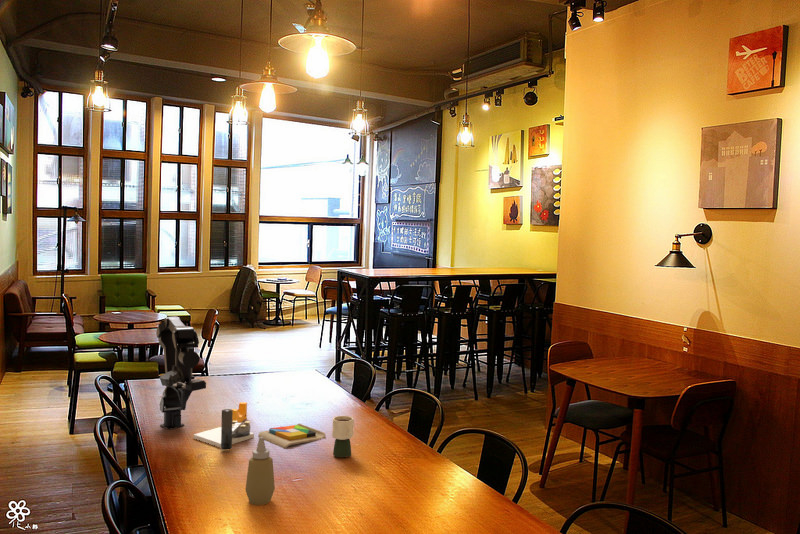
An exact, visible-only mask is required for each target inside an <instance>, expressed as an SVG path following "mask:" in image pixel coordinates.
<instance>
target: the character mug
mask: <svg viewBox="0 0 800 534" xmlns="http://www.w3.org/2000/svg"><path fill="white" fill-rule="evenodd" d="M354 420H355V419H354V417H352V416H349V415H337V416H334V417H333V418H332V431H331V432H332V433H331V434H332V438H333V439H334V446H333V451H332V455H333V456H334V457H336V458H343V459H344V458H347V457H351V456H352V446H351V445H352V444H351V440H350V439H351V438H353V436H354V425H355V422H354Z"/></svg>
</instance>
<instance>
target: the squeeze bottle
mask: <svg viewBox="0 0 800 534" xmlns="http://www.w3.org/2000/svg"><path fill="white" fill-rule="evenodd" d="M257 441H258V442H257V446H256V448H255V449H253V450H252V456H251V458H250V459H248V466H247V471H246V472H247V474H246V480H245V483H246V484H245V492H246V493H245V494H246V495H247V496H246V497H247V499H248V502H249V504H251V505H256V506H263V505H266V504H268V503H270V502H271V500H272V497H273V494H274V493H275V492H274V491H275V489H276V487H275V475H274V474H275V473H274V471H275V470H274V461H273V458H272V457H271V456H270V449H268V448H266V445H265V440H264V438H263V437H260V438H259V437H258V440H257Z"/></svg>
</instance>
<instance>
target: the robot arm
mask: <svg viewBox="0 0 800 534" xmlns="http://www.w3.org/2000/svg"><path fill="white" fill-rule="evenodd" d="M156 338H157V341H158V344H159V345H160V347H161V348H162V349H163V359H164V370H165V371H164V372H165V373H164V374H162V375H160V376H159V380H160V382H161V386H163V387H165V388H164V390H163V392H162V396H161V399H160V402H159V411H160V412H161V413H162V414H163V423H162V424H161V423H160V424H159V426H160V427H162V428H165V429H168V430H172V429H177V428H181V427H184V426H185V423H182V411H186V407H187V403H188V400H189V398H190V397H191V394H192V392H194V391H199V390H204V389H205V390H206V389H207V382H206V380H203V379H199V378H197V379H195V376H194V375H193V369H195V367H196V366H198V364H199V362H200V355H199V354H198V352H196V351H195V348H196V349H197V348H199V345H200V340H199V337H198V333H197V331H196V330H195V329H194V326H187V325H185V324H184V323H183V322H182V321H181V318H180V316H179V317H178V316H167V317H165V318H164V320H163V321H162V322H160V323H159V324H158V325H157V328H156Z"/></svg>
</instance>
